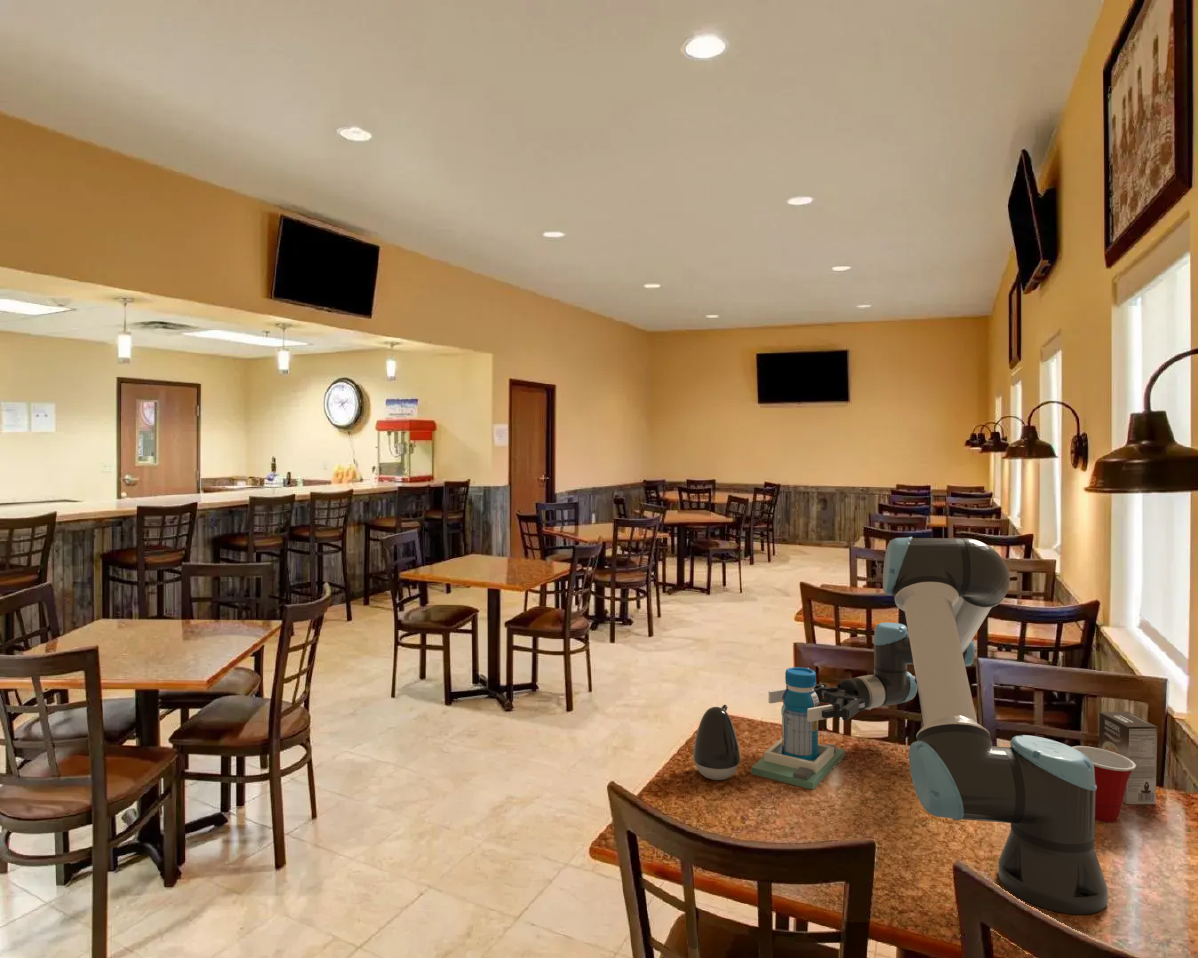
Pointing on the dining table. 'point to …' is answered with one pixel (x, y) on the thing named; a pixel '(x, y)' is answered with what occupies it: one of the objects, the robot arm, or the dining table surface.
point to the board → (797, 765)
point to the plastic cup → (1108, 781)
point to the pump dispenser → (716, 745)
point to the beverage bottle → (799, 715)
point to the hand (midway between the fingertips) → (788, 705)
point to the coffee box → (1132, 752)
